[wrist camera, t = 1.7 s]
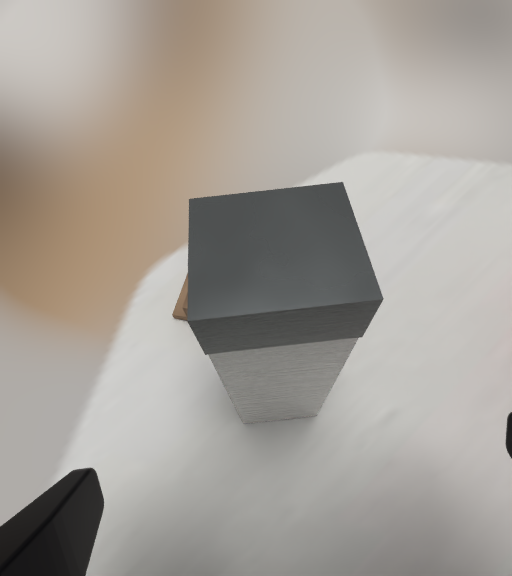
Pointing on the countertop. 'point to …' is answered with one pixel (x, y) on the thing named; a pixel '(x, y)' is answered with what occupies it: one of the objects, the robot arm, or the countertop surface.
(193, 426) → the countertop surface
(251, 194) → the grey dark-topped prism
